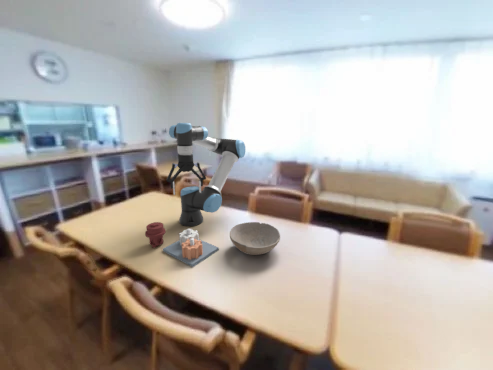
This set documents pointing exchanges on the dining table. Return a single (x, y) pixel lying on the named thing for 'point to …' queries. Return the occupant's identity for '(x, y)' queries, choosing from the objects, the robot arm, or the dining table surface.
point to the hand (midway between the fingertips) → (187, 193)
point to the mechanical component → (155, 233)
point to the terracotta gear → (192, 249)
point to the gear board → (193, 261)
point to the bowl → (254, 237)
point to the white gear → (188, 236)
